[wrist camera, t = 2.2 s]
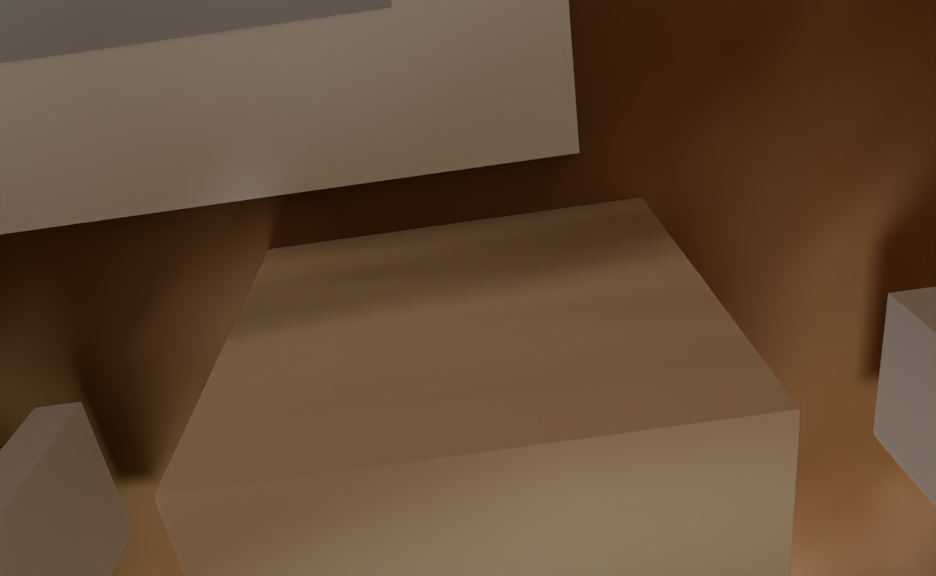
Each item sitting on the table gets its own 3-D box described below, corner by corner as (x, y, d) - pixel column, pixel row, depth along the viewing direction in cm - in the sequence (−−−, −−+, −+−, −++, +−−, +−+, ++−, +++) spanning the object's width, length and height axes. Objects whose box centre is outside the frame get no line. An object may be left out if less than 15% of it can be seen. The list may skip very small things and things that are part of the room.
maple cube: (269, 247, 13) (152, 497, 7) (640, 195, 13) (800, 409, 7) (342, 531, 15) (297, 870, 10) (651, 489, 15) (775, 808, 10)
